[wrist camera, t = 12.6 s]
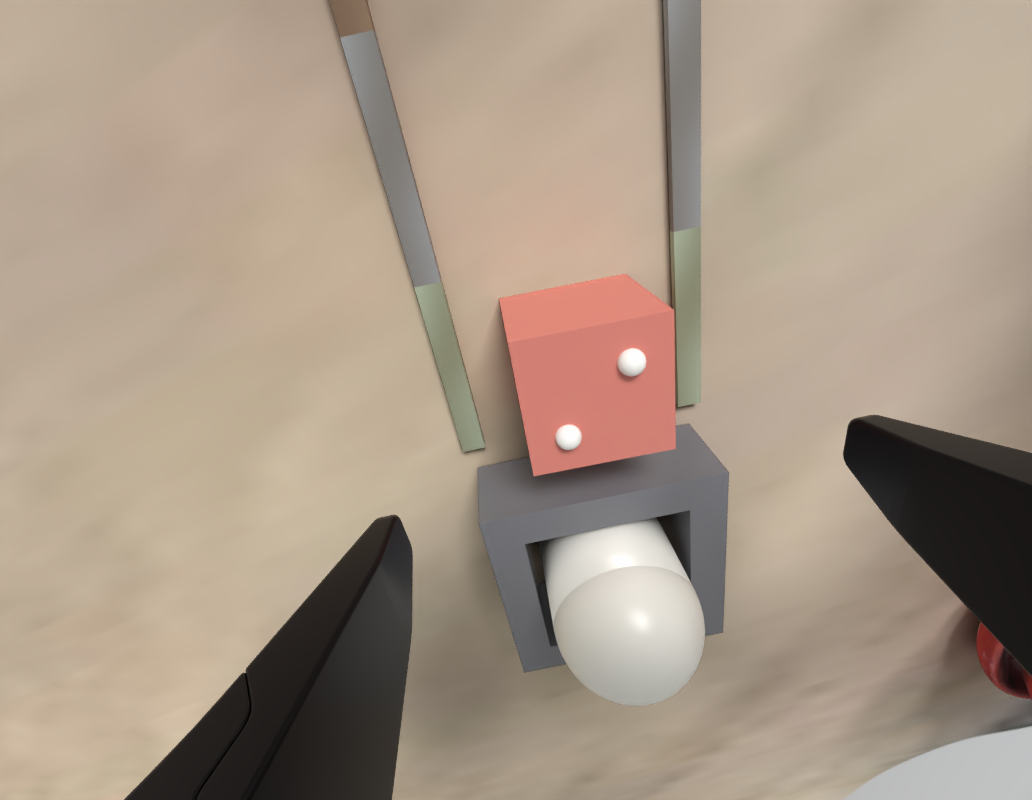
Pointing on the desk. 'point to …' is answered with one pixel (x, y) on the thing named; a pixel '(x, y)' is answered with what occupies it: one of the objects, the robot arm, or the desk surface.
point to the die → (592, 372)
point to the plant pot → (1002, 666)
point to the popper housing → (602, 526)
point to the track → (414, 233)
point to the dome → (624, 611)
